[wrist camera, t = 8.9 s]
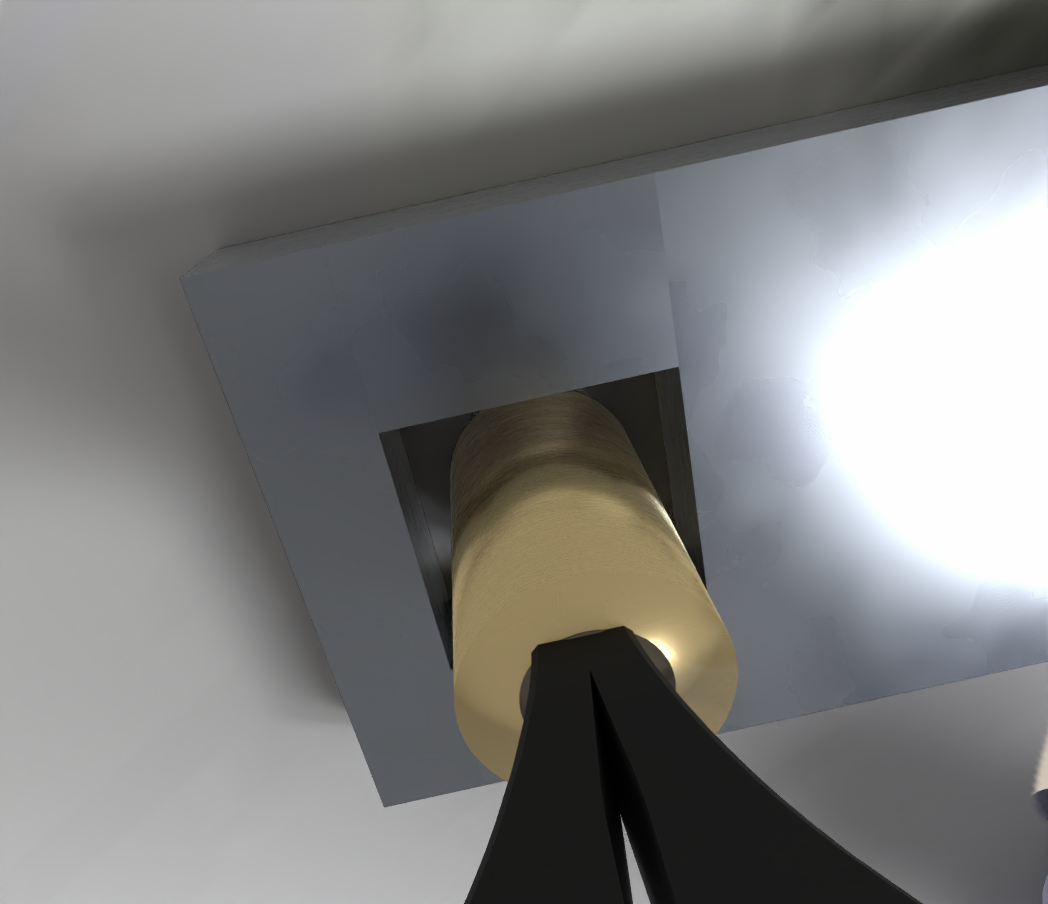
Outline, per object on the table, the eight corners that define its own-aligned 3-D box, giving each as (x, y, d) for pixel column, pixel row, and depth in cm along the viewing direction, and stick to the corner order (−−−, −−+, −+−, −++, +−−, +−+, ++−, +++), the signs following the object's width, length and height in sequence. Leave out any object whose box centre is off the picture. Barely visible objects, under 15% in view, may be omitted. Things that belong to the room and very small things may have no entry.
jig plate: (1102, 571, 20) (1182, 631, 18) (390, 728, 20) (384, 807, 18) (1171, 36, 15) (1293, 31, 13) (217, 249, 15) (179, 278, 13)
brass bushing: (643, 532, 19) (747, 770, 12) (471, 568, 19) (485, 824, 12) (620, 369, 17) (728, 547, 11) (431, 407, 17) (423, 609, 11)
